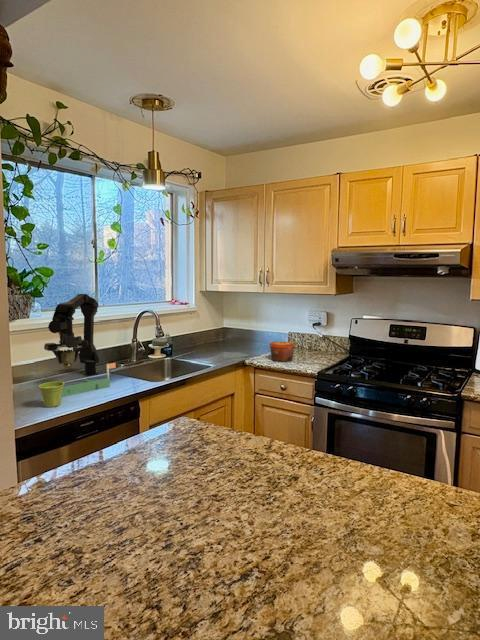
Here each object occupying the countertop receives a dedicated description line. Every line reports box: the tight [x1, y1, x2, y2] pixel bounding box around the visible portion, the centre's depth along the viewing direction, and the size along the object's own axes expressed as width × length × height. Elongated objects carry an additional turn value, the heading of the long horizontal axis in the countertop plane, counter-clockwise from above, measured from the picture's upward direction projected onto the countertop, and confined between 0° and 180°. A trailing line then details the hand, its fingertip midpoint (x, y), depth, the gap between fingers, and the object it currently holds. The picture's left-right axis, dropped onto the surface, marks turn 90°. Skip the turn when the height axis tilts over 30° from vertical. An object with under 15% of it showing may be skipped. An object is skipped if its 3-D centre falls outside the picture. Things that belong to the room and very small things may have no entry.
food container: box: [269, 340, 296, 363], centre depth 258 cm, size 16×16×11 cm
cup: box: [60, 348, 75, 369], centre depth 197 cm, size 8×7×8 cm
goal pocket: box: [62, 362, 117, 397], centre depth 193 cm, size 12×30×11 cm, turn 135°
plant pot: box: [38, 381, 65, 408], centre depth 169 cm, size 9×9×9 cm
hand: (67, 362), depth 197 cm, fingers closed on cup, 6 cm apart
